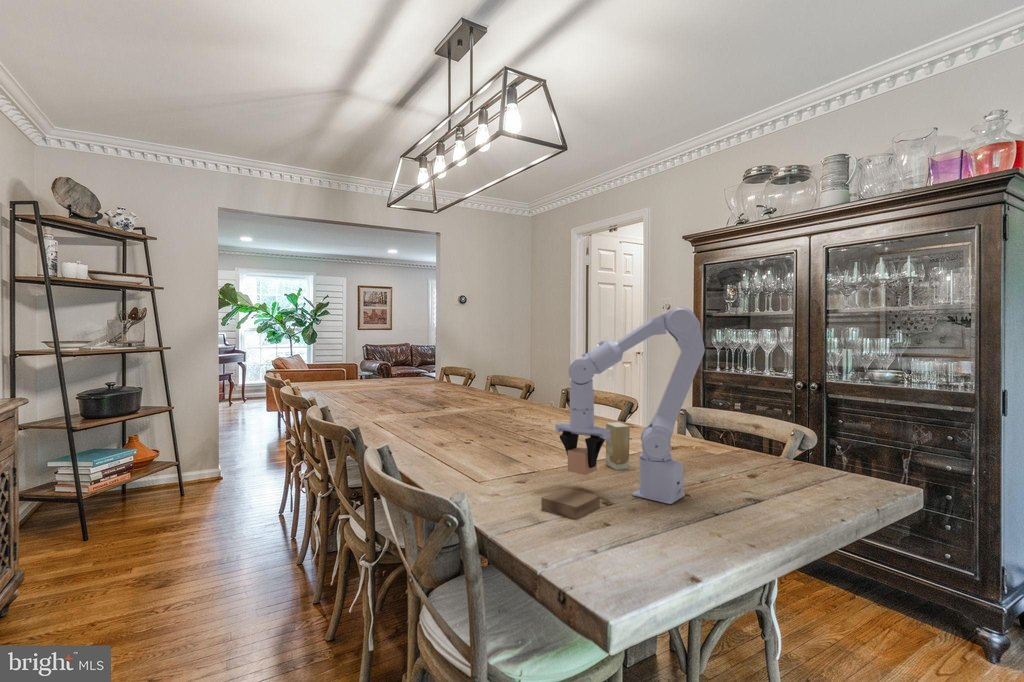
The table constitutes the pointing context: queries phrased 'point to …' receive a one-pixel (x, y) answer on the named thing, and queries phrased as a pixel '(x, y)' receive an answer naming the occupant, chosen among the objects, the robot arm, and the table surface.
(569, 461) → the terracotta cube
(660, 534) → the table surface
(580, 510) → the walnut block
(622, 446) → the skincare box
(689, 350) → the robot arm
